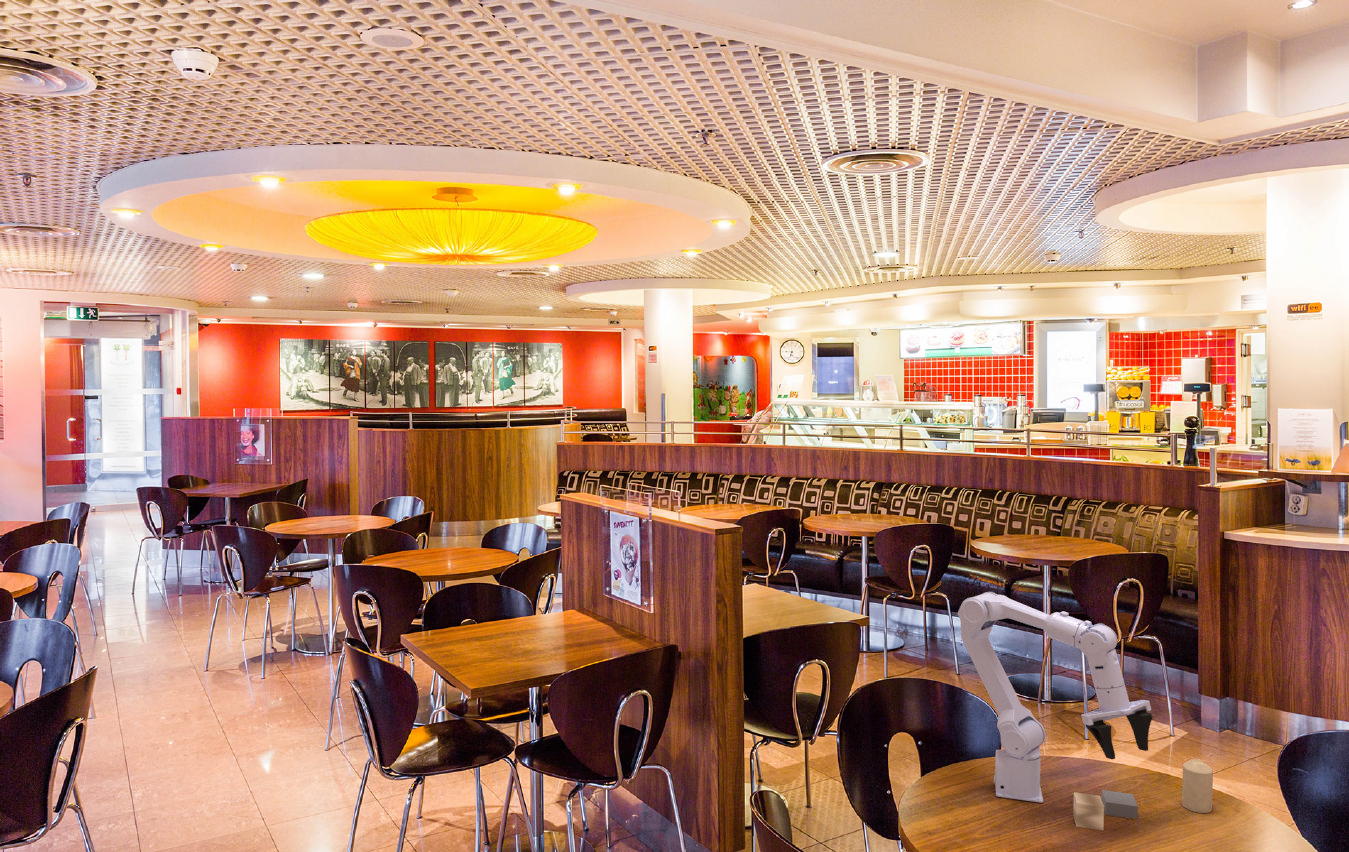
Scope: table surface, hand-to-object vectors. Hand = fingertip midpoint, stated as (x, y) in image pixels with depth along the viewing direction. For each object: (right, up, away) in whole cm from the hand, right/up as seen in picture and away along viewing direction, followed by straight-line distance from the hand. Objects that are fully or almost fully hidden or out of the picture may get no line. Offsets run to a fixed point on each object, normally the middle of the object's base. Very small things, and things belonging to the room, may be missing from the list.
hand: (1127, 754), depth 176 cm
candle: (+20, -15, +9) cm, 27 cm away
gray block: (+2, -15, +8) cm, 17 cm away
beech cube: (-7, -15, +2) cm, 17 cm away
